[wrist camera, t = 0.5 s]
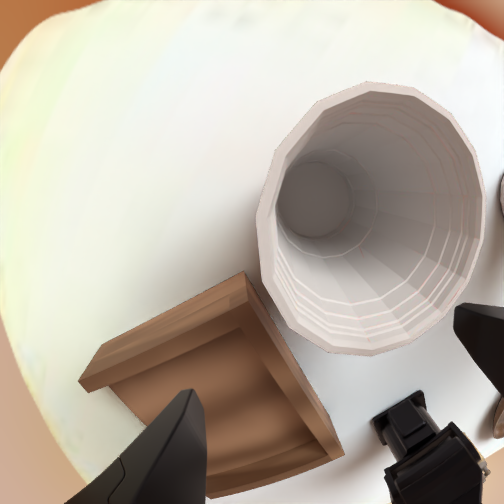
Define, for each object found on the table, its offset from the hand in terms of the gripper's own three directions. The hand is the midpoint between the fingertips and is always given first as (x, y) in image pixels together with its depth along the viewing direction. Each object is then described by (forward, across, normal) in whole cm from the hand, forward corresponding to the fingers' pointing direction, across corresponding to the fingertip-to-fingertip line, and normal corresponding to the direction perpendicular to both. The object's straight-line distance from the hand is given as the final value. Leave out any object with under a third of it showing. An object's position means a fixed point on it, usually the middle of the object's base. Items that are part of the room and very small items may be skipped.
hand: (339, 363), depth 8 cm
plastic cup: (+14, -4, -3) cm, 15 cm away
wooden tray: (+14, +7, +11) cm, 19 cm away
